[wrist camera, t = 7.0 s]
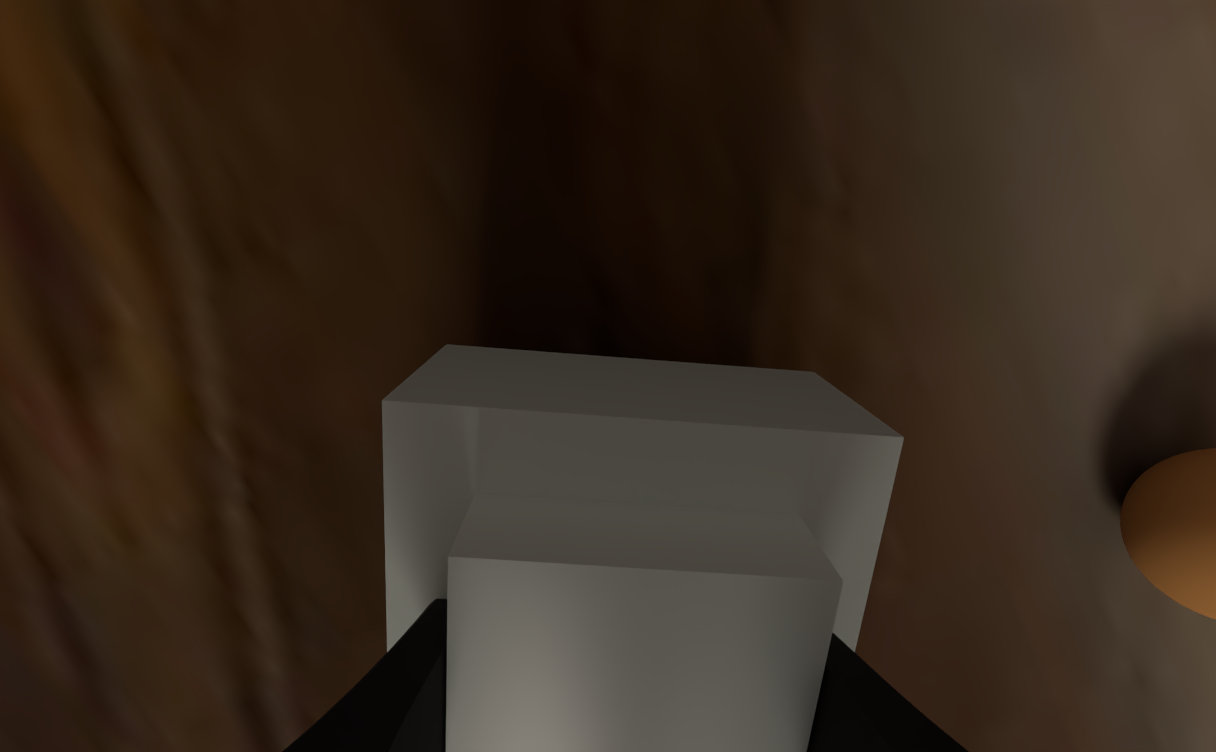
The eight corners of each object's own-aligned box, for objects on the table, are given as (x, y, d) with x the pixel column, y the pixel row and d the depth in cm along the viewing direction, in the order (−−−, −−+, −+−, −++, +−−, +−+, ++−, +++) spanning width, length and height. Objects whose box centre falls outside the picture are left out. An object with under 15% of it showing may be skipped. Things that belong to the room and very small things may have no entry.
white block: (443, 656, 16) (352, 921, 10) (446, 344, 14) (330, 445, 8) (759, 674, 17) (853, 939, 11) (813, 371, 14) (975, 488, 8)
